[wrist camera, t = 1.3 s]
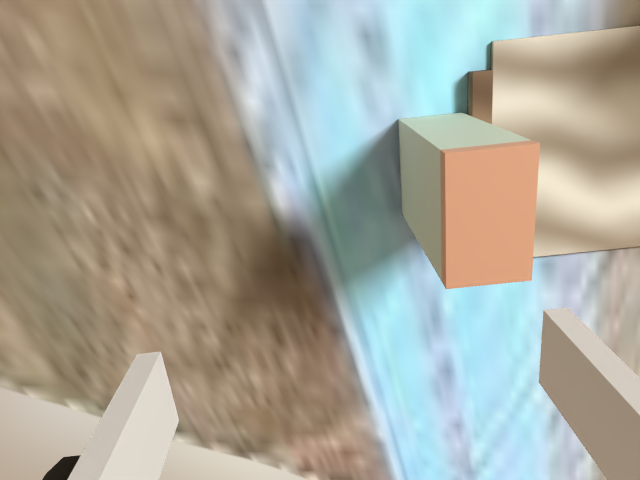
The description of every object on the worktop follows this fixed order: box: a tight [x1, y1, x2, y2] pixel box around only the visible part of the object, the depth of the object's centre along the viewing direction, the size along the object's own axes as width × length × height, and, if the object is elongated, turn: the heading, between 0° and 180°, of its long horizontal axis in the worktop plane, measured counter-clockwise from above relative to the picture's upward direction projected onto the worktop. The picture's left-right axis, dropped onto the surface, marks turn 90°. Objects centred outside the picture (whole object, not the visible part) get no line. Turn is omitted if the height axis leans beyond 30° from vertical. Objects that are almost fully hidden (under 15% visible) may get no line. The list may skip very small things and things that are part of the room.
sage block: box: [398, 112, 540, 289], centre depth 34 cm, size 8×5×14 cm, turn 6°
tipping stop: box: [468, 26, 640, 257], centre depth 40 cm, size 18×18×1 cm
